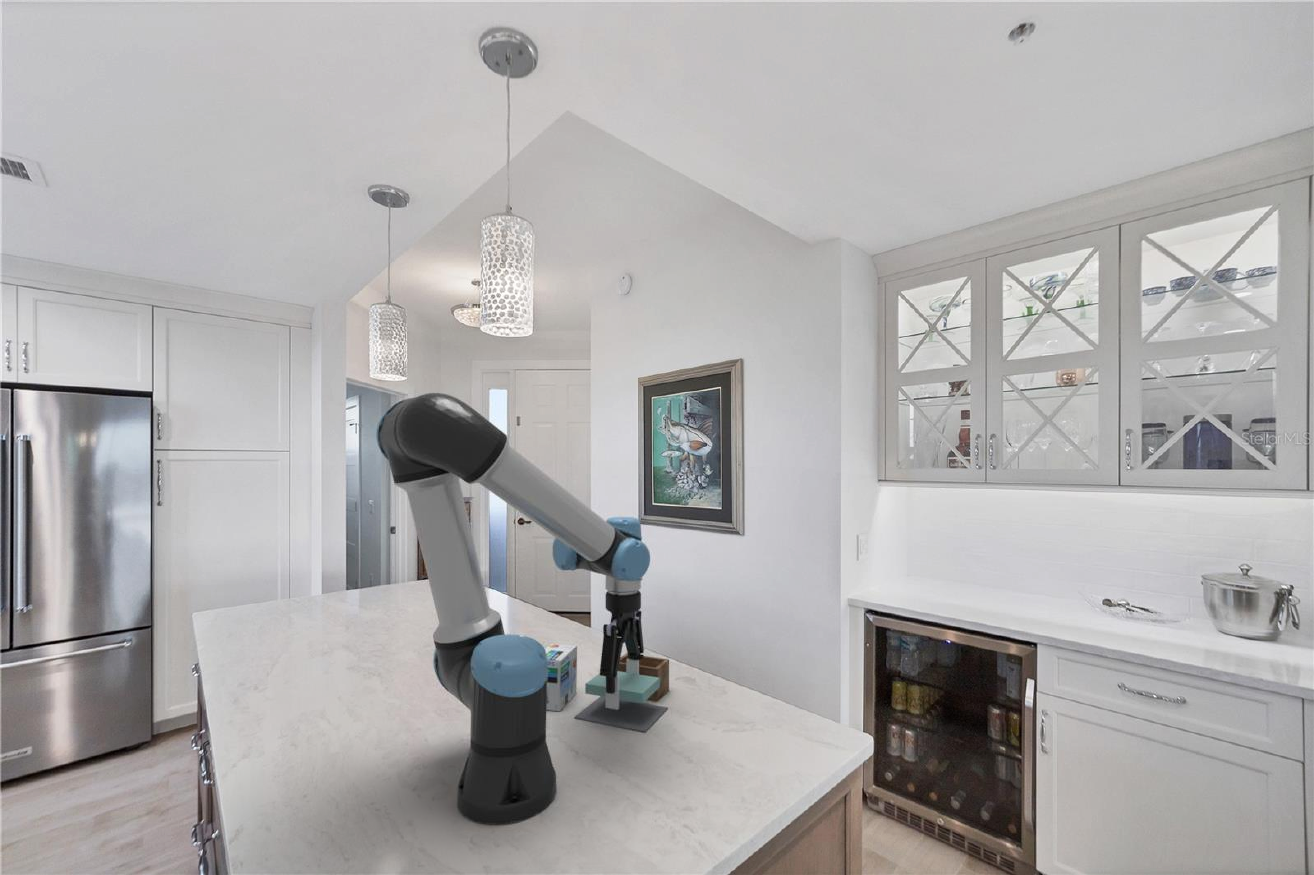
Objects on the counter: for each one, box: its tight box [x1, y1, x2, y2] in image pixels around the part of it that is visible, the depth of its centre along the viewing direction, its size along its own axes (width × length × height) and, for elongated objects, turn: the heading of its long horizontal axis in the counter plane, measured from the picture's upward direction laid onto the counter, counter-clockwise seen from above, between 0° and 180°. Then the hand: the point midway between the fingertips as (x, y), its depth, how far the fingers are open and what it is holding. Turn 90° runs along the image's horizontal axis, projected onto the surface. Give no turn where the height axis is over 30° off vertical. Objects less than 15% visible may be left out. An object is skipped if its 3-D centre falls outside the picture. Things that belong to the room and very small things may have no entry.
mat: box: [573, 696, 669, 734], centre depth 121 cm, size 12×16×1 cm
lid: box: [584, 671, 660, 704], centre depth 121 cm, size 9×13×3 cm
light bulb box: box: [544, 643, 578, 712], centre depth 127 cm, size 11×7×11 cm, turn 168°
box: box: [618, 652, 670, 703], centre depth 132 cm, size 7×11×7 cm, turn 67°
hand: (622, 698), depth 121 cm, fingers closed on lid, 9 cm apart
